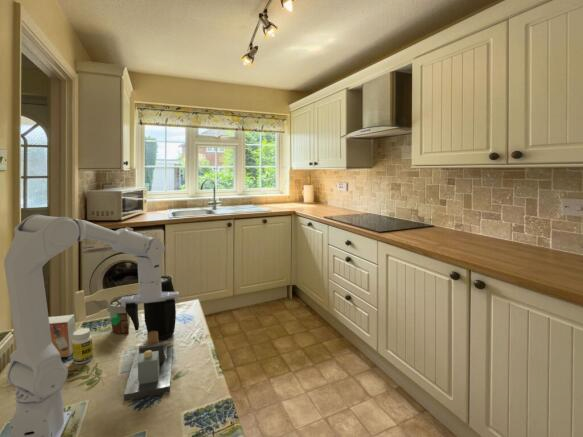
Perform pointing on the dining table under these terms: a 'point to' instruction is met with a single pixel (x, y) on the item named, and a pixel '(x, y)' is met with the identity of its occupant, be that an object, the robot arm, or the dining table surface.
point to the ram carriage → (153, 345)
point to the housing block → (148, 367)
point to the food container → (118, 316)
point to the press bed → (152, 388)
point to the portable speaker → (160, 313)
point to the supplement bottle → (82, 346)
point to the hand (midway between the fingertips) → (152, 327)
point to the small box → (62, 333)
